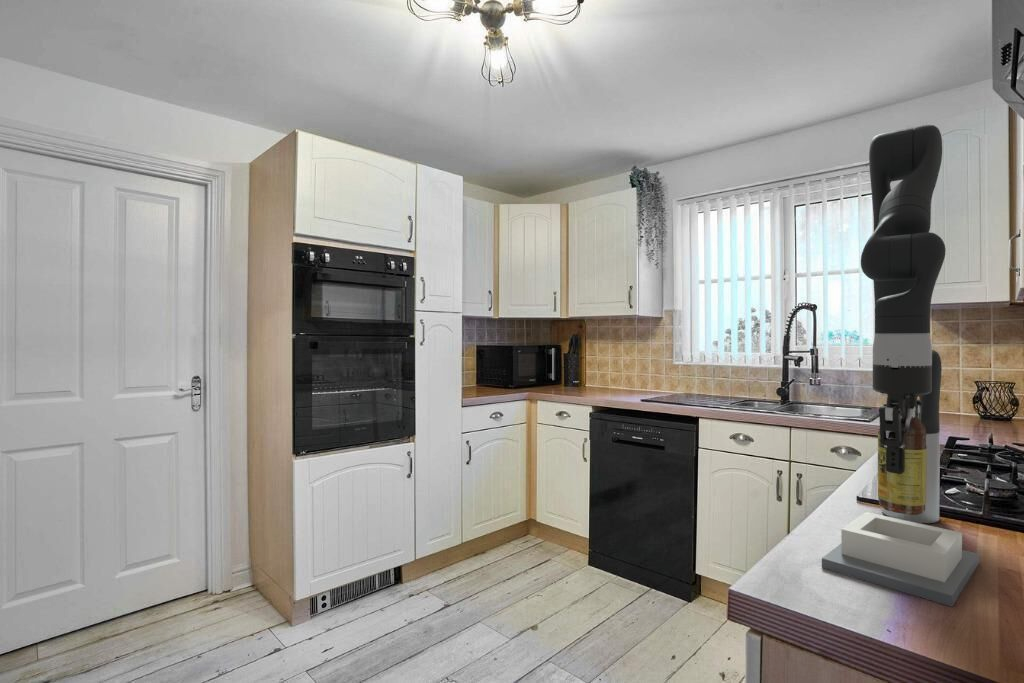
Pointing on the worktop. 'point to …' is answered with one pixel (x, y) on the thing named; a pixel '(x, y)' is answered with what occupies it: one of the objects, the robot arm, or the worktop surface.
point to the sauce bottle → (910, 486)
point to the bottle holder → (904, 557)
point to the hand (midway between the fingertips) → (901, 468)
